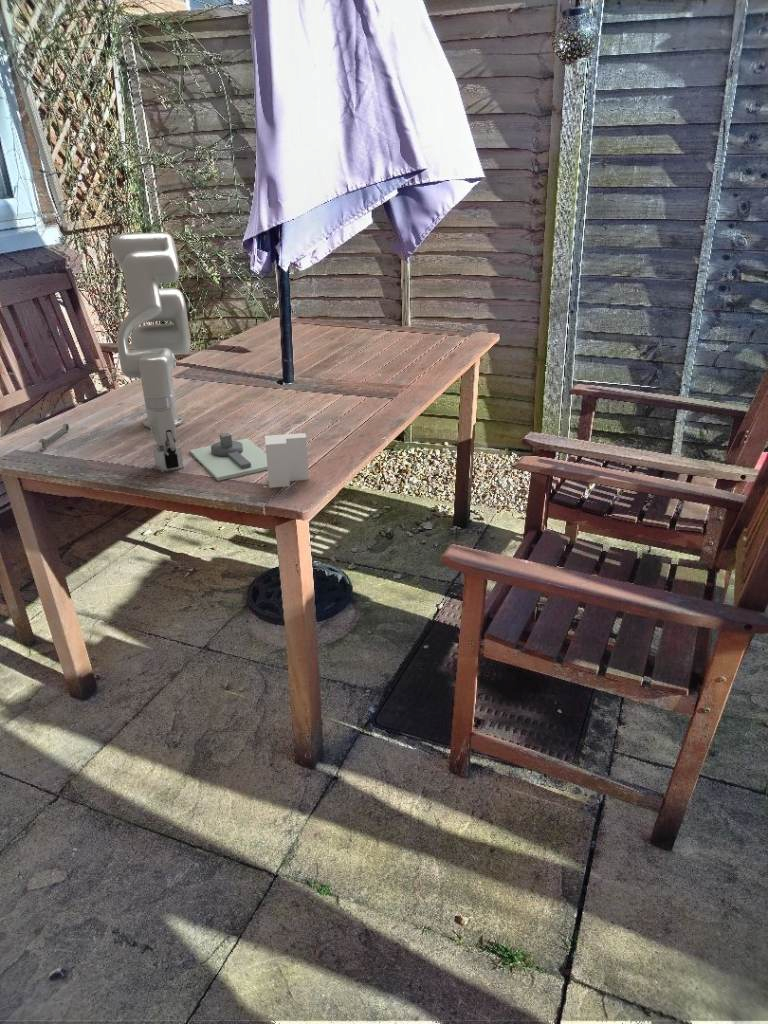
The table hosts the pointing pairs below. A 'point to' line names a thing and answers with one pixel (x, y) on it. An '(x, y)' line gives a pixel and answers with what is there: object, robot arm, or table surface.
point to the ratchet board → (231, 458)
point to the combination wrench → (53, 437)
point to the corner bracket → (286, 459)
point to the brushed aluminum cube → (160, 457)
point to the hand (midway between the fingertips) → (169, 463)
